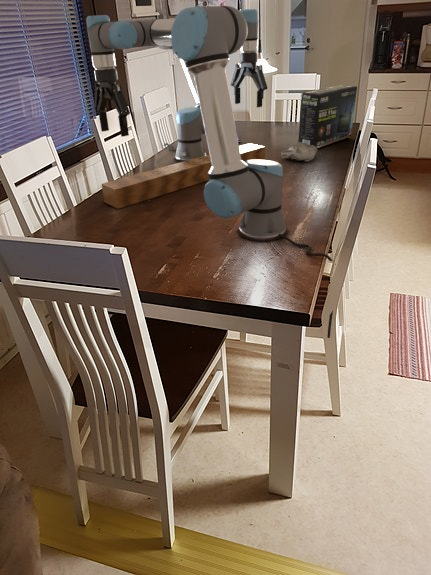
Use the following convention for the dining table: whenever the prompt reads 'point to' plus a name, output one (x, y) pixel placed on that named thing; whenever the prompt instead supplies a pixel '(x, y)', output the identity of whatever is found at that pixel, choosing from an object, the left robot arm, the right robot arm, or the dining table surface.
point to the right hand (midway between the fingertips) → (114, 133)
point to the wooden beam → (167, 178)
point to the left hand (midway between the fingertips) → (248, 105)
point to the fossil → (300, 152)
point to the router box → (326, 114)
